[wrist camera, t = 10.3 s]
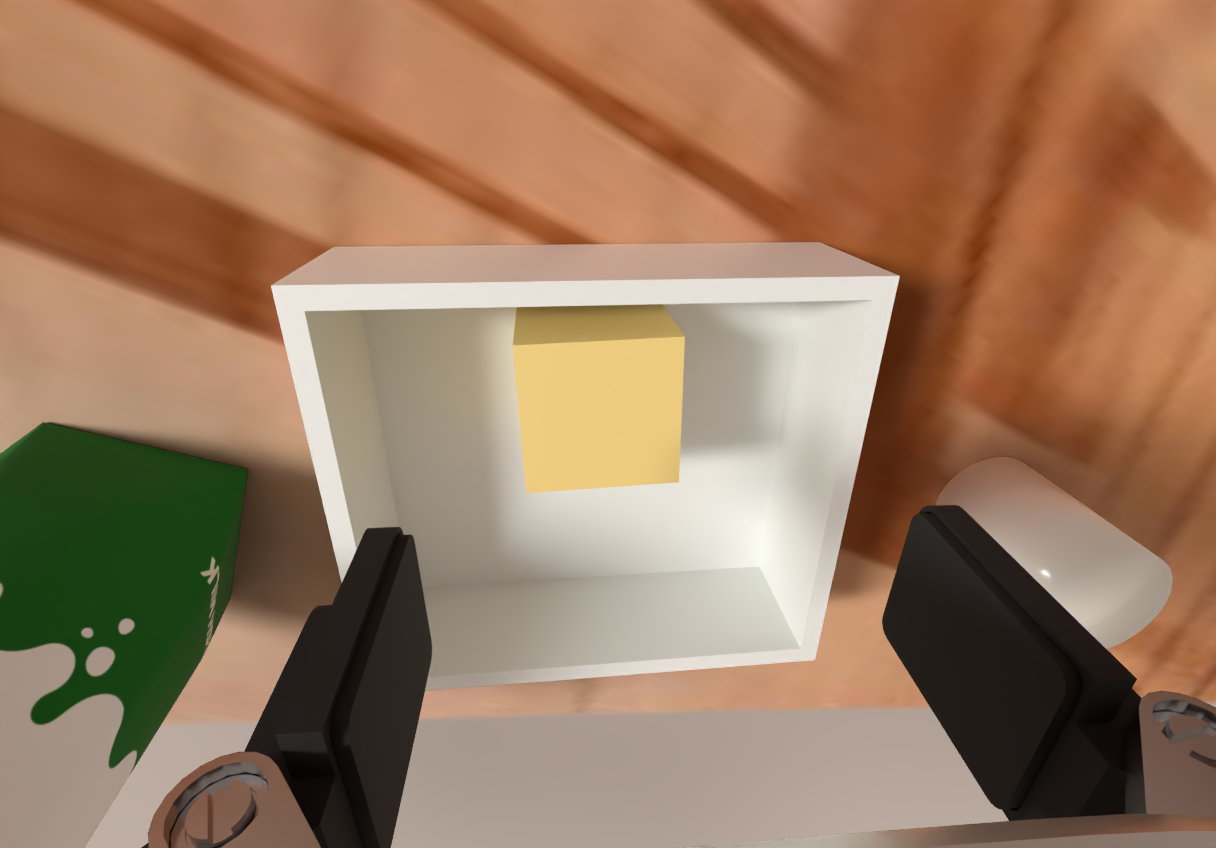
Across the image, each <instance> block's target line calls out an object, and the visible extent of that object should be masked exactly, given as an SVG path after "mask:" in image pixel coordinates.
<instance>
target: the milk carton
mask: <svg viewBox="0 0 1216 848" xmlns="http://www.w3.org/2000/svg"><path fill="white" fill-rule="evenodd" d="M247 474H248V469H245V468H241V467H237V466H232V465H228V464H223V463H219V462H215V461H210V460H206V459H202V458H197V457H193V456H188V455H184V454H180V453H175V452H171V451H167V450H162V449H158V448H154V447H149V446H145V445H140V444H136V443H132V442H127V441H123V440H119V439H114V438H110V437H106V436H101V435H97V434H92V433H88V432H84V431H79V430H75V429H71V428H66V427H62V426H58V425H53V424H49V423H44V422H43V423H41V424H40V425H39V426H37V427H36V428H35V429H33V430H32V431H31V432H29V433H28V434H27V435H25V436H24V437H23V438H21V439H20V440H18V441H17V442H16V443H14V444H13V445H12V446H10V447H9V448H8V449H6V450H5V451H3V452H2V453H1V454H0V848H85V846H86V845H87V843H88V841H89V840H90V838H91V837H92V835H93V833H94V831H95V830H96V829H97V827H98V825H99V824H100V822H101V821H102V819H103V817H104V815H105V814H106V813H107V811H108V809H109V808H110V806H111V804H112V803H113V801H114V800H115V798H116V796H117V795H118V793H119V792H120V790H121V788H122V787H123V785H124V784H125V782H126V780H127V778H128V777H129V775H130V774H131V772H132V771H133V769H134V767H135V766H136V764H137V763H138V761H139V759H140V758H141V756H142V754H143V753H144V751H145V750H146V748H147V747H148V745H149V743H150V742H151V740H152V739H153V737H154V735H155V734H156V732H157V730H158V729H159V727H160V726H161V724H162V722H163V721H164V719H165V718H166V716H167V714H168V713H169V711H170V710H171V708H172V706H173V705H174V703H175V702H176V700H177V698H178V697H179V695H180V693H181V692H182V690H183V689H184V687H185V685H186V684H187V682H188V681H189V679H190V677H191V676H192V674H193V672H194V671H195V669H196V668H197V666H198V664H199V663H200V661H201V659H202V657H203V655H204V654H205V652H206V650H207V648H208V646H209V643H210V641H211V639H212V637H213V635H214V633H215V630H216V628H217V626H218V624H219V622H220V619H221V617H222V615H223V613H224V611H225V608H226V606H227V604H228V602H229V600H230V598H231V590H232V583H233V576H234V569H235V561H236V554H237V547H238V540H239V532H240V525H241V518H242V511H243V503H244V496H245V489H246V482H247Z"/></svg>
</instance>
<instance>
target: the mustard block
mask: <svg viewBox="0 0 1216 848" xmlns="http://www.w3.org/2000/svg"><path fill="white" fill-rule="evenodd" d="M684 347H685V336H684V335H683V333H682V332H681V330H680V329H679V327H678V326H677V325H676V323H675V322H674V320H673V319H672V317H671V316H670V314H669V313H668V312H667V310H666V309H665V307H664V306H663V304H648V305H596V306H544V307H517V310H516V319H515V328H514V337H513V355H514V366H515V377H516V388H517V399H518V409H519V420H520V431H521V442H522V453H523V464H524V474H525V485H526V493H538V492H552V491H566V490H579V489H593V488H607V487H621V486H635V485H649V484H663V483H677V482H679V471H680V446H681V422H682V397H683V372H684Z"/></svg>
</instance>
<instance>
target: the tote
mask: <svg viewBox="0 0 1216 848" xmlns="http://www.w3.org/2000/svg"><path fill="white" fill-rule="evenodd" d="M899 277H900V276H899V275H896V274H894V273H892V272H889V271H887V270H885V269H882V268H880V267H877V266H875V265H873V264H870V263H868V262H866V261H863V260H861V259H858V258H856V257H854V256H851V255H849V254H847V253H844V252H842V251H839V250H837V249H835V248H832V247H830V246H828V245H825V244H823V243H821V242H781V243H676V244H570V245H465V246H360V247H333V248H332V249H330V250H328V251H327V252H325V253H323V254H322V255H320V256H318V257H317V258H315V259H314V260H312V261H310V262H309V263H307V264H305V265H304V266H302V267H300V268H299V269H297V270H296V271H294V272H292V273H291V274H289V275H287V276H286V277H284V278H282V279H281V280H279V281H278V282H276V283H274V284H273V285H271V288H272V292H273V296H274V301H275V305H276V309H277V313H278V317H279V322H280V326H281V330H282V334H283V338H284V343H285V347H286V351H287V355H288V359H289V364H290V368H291V372H292V376H293V380H294V385H295V389H296V393H297V397H298V402H299V406H300V410H301V414H302V418H303V423H304V427H305V431H306V435H307V439H308V444H309V448H310V452H311V456H312V460H313V465H314V469H315V473H316V477H317V481H318V486H319V490H320V494H321V498H322V502H323V507H324V511H325V515H326V519H327V523H328V528H329V532H330V536H331V540H332V544H333V549H334V553H335V557H336V561H337V565H338V570H339V574H340V578H341V582H343V579H344V577H345V575H346V573H347V570H348V568H349V566H350V564H351V561H352V559H353V557H354V554H355V552H356V550H357V548H358V545H359V543H360V541H361V539H362V536H363V534H364V532H365V531H366V529H368V528H382V527H400V528H401V529H402V531H403V534H404V535H413V537H414V541H415V547H416V552H417V558H418V564H419V570H420V576H421V582H422V587H423V593H424V599H425V605H426V611H427V617H428V622H429V628H430V634H431V640H432V659H431V665H430V670H429V674H428V679H427V683H426V688H425V691H431V690H443V689H456V688H469V687H481V686H494V685H506V684H519V683H532V682H544V681H557V680H569V679H582V678H595V677H607V676H620V675H633V674H645V673H658V672H670V671H683V670H696V669H708V668H721V667H734V666H746V665H759V664H771V663H784V662H797V661H809V660H815V657H816V652H817V648H818V643H819V639H820V634H821V630H822V625H823V621H824V616H825V612H826V607H827V603H828V598H829V594H830V589H831V585H832V580H833V576H834V571H835V566H836V562H837V557H838V553H839V548H840V544H841V539H842V535H843V530H844V526H845V521H846V517H847V512H848V508H849V503H850V499H851V494H852V490H853V485H854V481H855V476H856V471H857V467H858V462H859V458H860V453H861V449H862V444H863V440H864V435H865V431H866V426H867V422H868V417H869V413H870V408H871V404H872V399H873V395H874V390H875V386H876V381H877V377H878V372H879V367H880V363H881V358H882V354H883V349H884V345H885V340H886V336H887V331H888V327H889V322H890V318H891V313H892V309H893V304H894V300H895V295H896V291H897V286H898V282H899ZM648 304H663V306H664V307H665V309H666V310H667V312H668V313H669V314H670V316H671V317H672V319H673V320H674V322H675V323H676V325H677V326H678V327H679V329H680V330H681V332H682V333H683V335H684V336H685V347H684V372H683V397H682V422H681V446H680V471H679V482H677V483H663V484H649V485H635V486H621V487H607V488H593V489H579V490H566V491H552V492H538V493H526V485H525V474H524V464H523V453H522V442H521V431H520V420H519V409H518V399H517V388H516V377H515V366H514V355H513V337H514V328H515V319H516V310H517V307H544V306H596V305H648Z"/></svg>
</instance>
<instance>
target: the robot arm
mask: <svg viewBox="0 0 1216 848" xmlns="http://www.w3.org/2000/svg"><path fill="white" fill-rule="evenodd" d="M882 624H883V630H884V633H885V635H886V637H887V639H888V641H889V642H890V644H891V645H892V647H893V649H894V650H895V652H896V653H897V655H898V657H899V658H900V660H901V661H902V663H903V665H904V666H905V668H906V669H907V671H908V672H909V674H910V676H911V677H912V679H913V680H914V682H915V684H916V685H917V687H918V688H919V690H920V692H921V693H922V695H923V696H924V698H925V700H926V701H927V703H928V704H929V706H930V708H931V709H932V711H933V712H934V714H935V715H936V717H937V719H938V720H939V722H940V723H941V725H942V727H943V728H944V730H945V731H946V733H947V735H948V736H949V738H950V739H951V741H952V743H953V744H954V746H955V747H956V749H957V750H958V752H959V754H960V755H961V757H962V758H963V760H964V761H965V763H966V765H967V766H968V768H969V770H970V771H971V773H972V774H973V776H974V778H975V779H976V781H977V782H978V784H979V785H980V787H981V789H982V790H983V792H984V793H985V795H986V796H987V798H988V799H989V801H990V802H991V804H993V805H994V806H995V807H996V808H998V809H1002V810H1003V812H1004V813H1005V815H1006V816H1007V818H1008V820H1009V821H1006V822H995V823H994V822H993V823H981V824H980V823H979V824H966V825H954V826H940V827H928V828H914V829H901V830H888V831H875V832H863V833H851V834H839V835H826V836H814V837H801V838H789V839H777V840H765V841H754V842H741V843H729V844H717V845H706V846H693V847H682V848H1216V707H1214V706H1212V705H1209V704H1207V703H1205V702H1203V701H1201V700H1199V699H1196V698H1193V697H1190V696H1187V695H1183V694H1180V693H1175V692H1167V691H1157V692H1151V693H1148V694H1147V695H1145V696H1144V697H1143V698H1141V697H1140V696H1139V695H1138V694H1137V693H1136V692H1135V691H1134V690H1133V689H1132V687H1133V685H1134V683H1135V682H1136V680H1137V679H1136V678H1135V677H1134V676H1133V675H1132V674H1131V673H1130V672H1129V671H1128V670H1127V669H1126V668H1125V667H1124V666H1123V665H1122V664H1121V663H1120V662H1119V661H1118V660H1117V659H1116V658H1115V657H1114V656H1113V655H1112V654H1111V653H1110V652H1109V651H1108V650H1107V649H1106V648H1105V647H1104V646H1103V645H1102V644H1101V643H1100V642H1099V641H1098V640H1097V639H1096V638H1095V637H1093V636H1092V635H1091V634H1090V633H1089V632H1088V631H1087V630H1086V629H1085V628H1084V627H1083V626H1082V625H1081V624H1080V623H1079V622H1078V621H1077V620H1076V619H1075V618H1074V617H1073V616H1072V615H1071V614H1070V613H1069V612H1068V611H1067V610H1066V609H1065V608H1064V607H1063V606H1062V605H1061V604H1060V603H1059V602H1058V601H1057V600H1056V599H1055V598H1054V597H1053V596H1052V595H1051V594H1050V593H1049V592H1048V591H1047V590H1046V589H1045V588H1044V587H1043V586H1042V585H1040V584H1039V583H1038V582H1037V581H1036V580H1035V579H1034V578H1033V577H1032V576H1031V575H1030V574H1029V573H1028V572H1027V571H1026V570H1025V569H1024V568H1023V567H1022V566H1021V565H1020V564H1019V563H1018V562H1017V561H1016V560H1015V559H1014V558H1013V557H1012V556H1011V555H1010V554H1009V553H1008V552H1007V551H1006V550H1005V549H1004V548H1003V547H1002V546H1001V545H1000V544H999V543H998V542H997V541H996V540H995V539H994V538H993V537H992V536H991V535H990V534H989V533H987V532H986V531H985V530H984V529H983V528H982V527H981V526H980V525H979V524H978V523H977V522H976V521H975V520H974V519H973V518H972V517H971V516H970V515H969V514H968V513H967V512H966V511H965V510H964V509H963V508H961V507H960V506H958V505H937V506H926V507H924V508H923V509H922V510H921V511H920V513H919V514H916V515H915V516H914V517H913V518H912V521H911V524H910V527H909V531H908V534H907V537H906V541H905V544H904V547H903V551H902V554H901V557H900V561H899V564H898V568H897V571H896V574H895V578H894V581H893V584H892V588H891V591H890V594H889V598H888V601H887V604H886V608H885V611H884V614H883V619H882ZM431 659H432V640H431V634H430V628H429V622H428V617H427V611H426V605H425V599H424V593H423V587H422V582H421V576H420V570H419V564H418V558H417V552H416V547H415V541H414V537H413V535H404V534H403V531H402V529H401V528H400V527H382V528H368V529H366V531H365V532H364V534H363V536H362V539H361V541H360V543H359V545H358V548H357V550H356V552H355V554H354V557H353V559H352V561H351V564H350V566H349V568H348V570H347V573H346V575H345V577H344V579H343V582H342V584H341V586H340V588H339V591H338V593H337V595H336V597H335V600H334V602H333V604H332V605H326V606H317V607H316V608H315V609H313V611H312V612H311V614H310V615H309V617H308V619H307V621H306V623H305V625H304V628H303V630H302V632H301V634H300V636H299V638H298V640H297V642H296V644H295V646H294V648H293V651H292V653H291V655H290V657H289V659H288V661H287V663H286V665H285V667H284V669H283V672H282V674H281V676H280V678H279V680H278V682H277V684H276V686H275V688H274V690H273V692H272V695H271V697H270V699H269V701H268V703H267V705H266V707H265V709H264V711H263V713H262V716H261V718H260V720H259V722H258V724H257V726H256V728H255V730H254V732H253V734H252V736H251V739H250V741H249V743H248V745H247V747H246V749H245V751H244V752H237V753H232V754H228V755H224V756H221V757H218V758H216V759H214V760H212V761H210V762H208V763H206V764H204V765H202V766H200V767H199V768H197V769H196V770H194V771H193V772H192V773H190V774H189V775H188V776H186V777H185V778H183V779H182V780H181V781H180V782H179V783H178V784H177V785H176V786H175V787H174V788H173V789H172V790H171V791H170V792H169V793H168V794H167V795H166V797H165V798H164V800H163V801H162V803H161V805H160V806H159V808H158V809H157V811H156V812H155V814H154V816H153V819H152V822H151V826H150V829H149V832H148V843H147V844H146V845H145V846H143V847H142V848H390V847H391V844H392V839H393V834H394V829H395V825H396V820H397V816H398V812H399V807H400V802H401V797H402V793H403V789H404V784H405V779H406V774H407V770H408V766H409V761H410V757H411V752H412V747H413V743H414V738H415V734H416V729H417V725H418V720H419V715H420V711H421V706H422V702H423V697H424V693H425V688H426V683H427V679H428V674H429V670H430V665H431Z"/></svg>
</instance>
